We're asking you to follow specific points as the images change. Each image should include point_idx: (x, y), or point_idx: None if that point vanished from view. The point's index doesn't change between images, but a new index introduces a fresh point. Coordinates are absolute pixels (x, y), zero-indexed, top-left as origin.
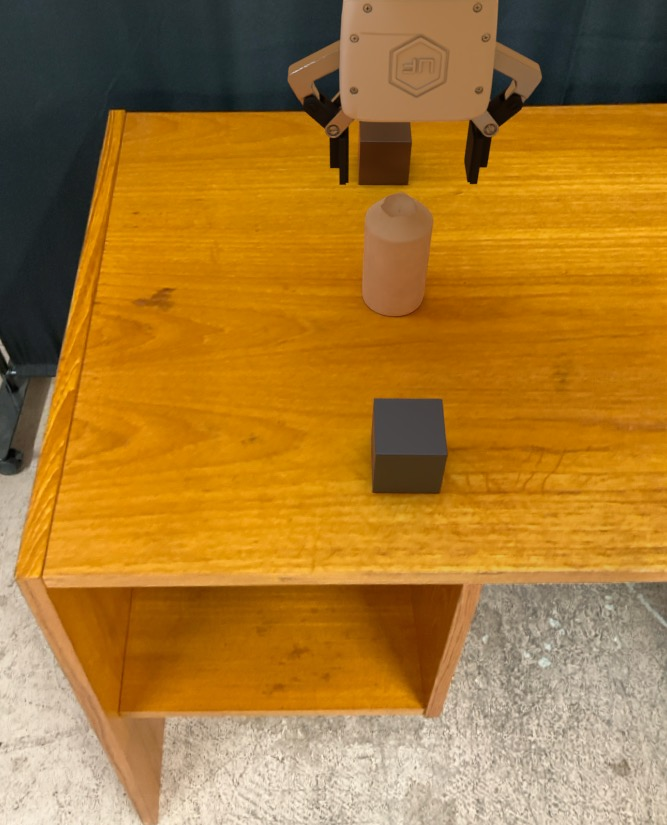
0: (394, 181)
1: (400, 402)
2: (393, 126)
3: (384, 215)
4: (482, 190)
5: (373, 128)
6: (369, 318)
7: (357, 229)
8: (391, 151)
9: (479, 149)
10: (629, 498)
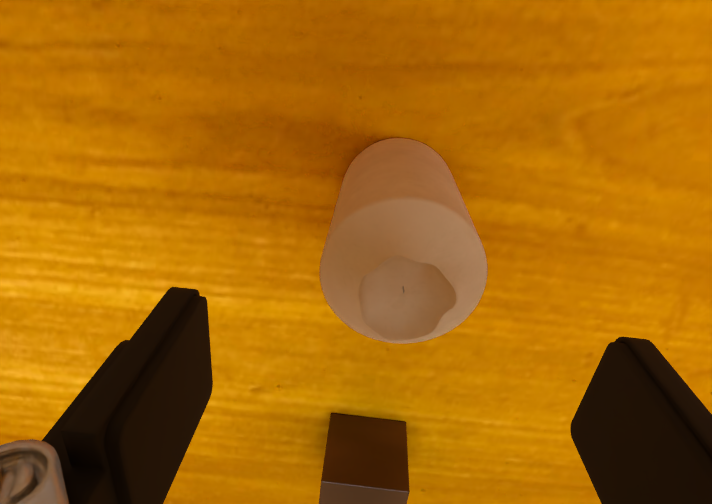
0: (351, 420)
1: None
2: None
3: (451, 273)
4: (219, 390)
5: None
6: (450, 139)
7: None
8: (356, 468)
9: (107, 388)
10: None
